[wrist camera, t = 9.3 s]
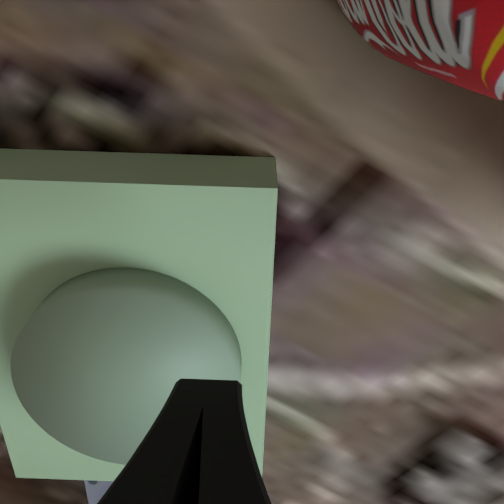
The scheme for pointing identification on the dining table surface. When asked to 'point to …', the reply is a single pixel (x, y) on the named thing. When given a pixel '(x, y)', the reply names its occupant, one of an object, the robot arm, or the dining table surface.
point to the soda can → (438, 38)
